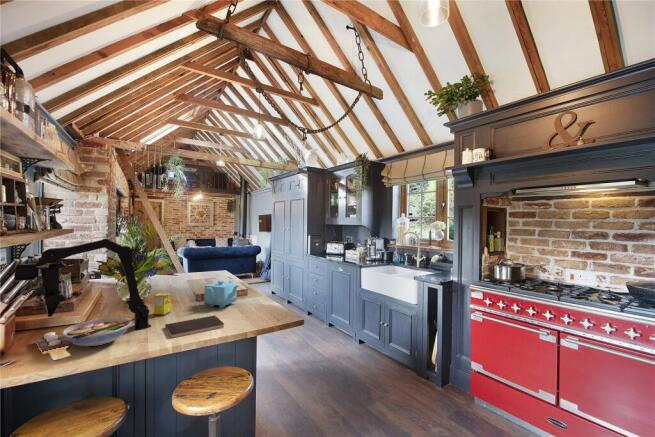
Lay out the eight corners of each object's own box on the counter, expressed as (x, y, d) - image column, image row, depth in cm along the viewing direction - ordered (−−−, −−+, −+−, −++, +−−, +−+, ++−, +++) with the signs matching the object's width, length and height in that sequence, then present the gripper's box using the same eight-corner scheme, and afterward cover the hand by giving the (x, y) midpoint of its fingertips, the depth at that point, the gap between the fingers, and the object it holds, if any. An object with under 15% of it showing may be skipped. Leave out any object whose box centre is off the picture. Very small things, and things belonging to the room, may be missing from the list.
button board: (70, 347, 119) (70, 342, 119) (42, 354, 112) (42, 349, 112) (60, 337, 129) (60, 332, 129) (34, 343, 123) (34, 337, 123)
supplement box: (171, 312, 164) (171, 292, 165) (164, 316, 158) (164, 295, 159) (161, 312, 165) (161, 292, 165) (153, 315, 159) (153, 295, 159)
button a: (61, 347, 118) (61, 341, 118) (49, 350, 115) (49, 344, 115) (59, 345, 120) (59, 339, 120) (48, 347, 117) (48, 341, 117)
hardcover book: (224, 328, 143) (224, 323, 143) (171, 339, 129) (171, 334, 129) (214, 319, 155) (214, 315, 155) (165, 328, 142) (165, 323, 142)
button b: (58, 342, 121) (58, 336, 121) (47, 344, 118) (47, 338, 118) (56, 340, 123) (56, 334, 123) (45, 342, 120) (45, 336, 120)
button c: (56, 339, 124) (56, 333, 124) (44, 341, 121) (45, 335, 121) (54, 337, 126) (54, 331, 126) (43, 339, 123) (43, 333, 124)
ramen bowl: (111, 329, 139) (112, 311, 139) (146, 336, 130) (146, 318, 130) (45, 351, 115) (45, 330, 115) (82, 361, 107) (82, 339, 107)
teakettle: (202, 303, 183) (203, 279, 183) (234, 299, 192) (234, 277, 192) (206, 311, 167) (206, 285, 167) (240, 307, 175) (240, 282, 176)
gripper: (19, 278, 122) (18, 316, 122) (27, 285, 111) (26, 326, 111) (55, 275, 131) (54, 310, 131) (66, 280, 120) (65, 319, 120)
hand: (50, 316), depth 123 cm, fingers closed
